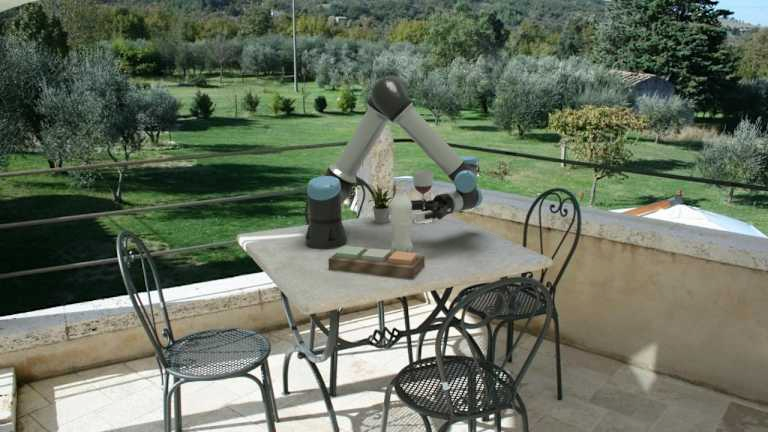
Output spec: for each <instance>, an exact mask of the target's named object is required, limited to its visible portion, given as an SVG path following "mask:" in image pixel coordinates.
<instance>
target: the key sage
mask: <svg viewBox="0 0 768 432" xmlns="http://www.w3.org/2000/svg"><path fill="white" fill-rule="evenodd" d="M365 250H366V248H365V247H361V246H350V245H343V247H342V248H339V250H337V251H336V252H335V254H336V257H338V258H347V259H356V260H357V259H358V258H360V257H361V256H362V255H363V254H364V253H365Z"/></svg>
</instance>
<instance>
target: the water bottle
mask: <svg viewBox="0 0 768 432" xmlns="http://www.w3.org/2000/svg"><path fill="white" fill-rule="evenodd" d="M395 191H396V192H395V194H394V196H393V197H392V200H391V202H390V206H391V214H390V216H391V220H390V223H391V226H392V229H393V240H392V242H391V246H390V247H391V252H392V253H395V252H396V251H401V252H411V253H412V250H413V243H412V240H411V234H410V232H411V230H410V229H411V227H412V224H413V218H412V216H413V214H412V213H413V210H412V203H411V201H412V200H411V199H410V197H409V195H408V193H407V183H406V180H397V181H396V186H395Z"/></svg>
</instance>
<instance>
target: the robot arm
mask: <svg viewBox="0 0 768 432" xmlns="http://www.w3.org/2000/svg"><path fill="white" fill-rule="evenodd" d="M409 93H410V91H409V87H408V84H407V83H406V82H405V80H404V79H402V78H401V77H398V76H396V75H388V76H384V77H383V78H380V79H379V80H377V81H376V82H375V83H374V85H373V86H372V88H371V94H370V96H369V98H368V100H367V101H366V106H367V110H366V112H365V113H364V115H363V117H362V118H361V120H360V121H359V123H358V125H357V127H356V129H355V130H354V132H353V133H352V135H351V137H350V138H349V140H348V142H347V144H346V145H345V147H344V148H343V150H342V152H341V154H340V156H339V157H338V158H337V161H336V162H335V163H334V164H330V165H329V166H328V168H327V169H326V171H325V172H324V174H323V175H322V176H317V177H313V178H311V179H310V180H309V181H308V183H307V188H306V193H307V205H308V221H309V222H308V223H309V224H308V226H307V230H306V234H305V238H304V240H305V245H306V246H307V247H308V248H312V249H321V250H322V249H323V250H326V249H327V250H328V249H335V248H336V249H337V248H340V247H342V246H343V247H344V246H346V244H347V243H348V235H347V234H348V233H347V232H346V230H345V227H344V224H343V220H342V217H343V216H342V204H343V203H344V202H345V201H346V200H347V199H348V198H349V196H350V195H351V192H352V189H353V188H354V186H355V185H356V183H357V177H356V175H357V173H358V172H359V170H360V168H361V167H362V165H363V164H364V162H365V160H366V158H367V157H368V155H369V154H370V152H371V150H372V149H373V147H374V146H375V144H376V142H377V141H378V139H379V138H380V136H381V134H382V133H383V131H384V130H385V128H386V126H387V124H388V123H389V122H390V123H392V124H397V125H398V126H399V127H400V128H401V129H402V130H403V131H404V132H405V133H406V134H407V135H408V136H409V137H410V139H411V140H412V141H413V142H414V143H415V144H416V145H417V146H418V147H419V148H420V149H421V151H423V152H424V153H425V154H426V155H427V157H429V159H431V161H433V162H434V163H435V165H436V166H437V167H438V168H439V169H440V170H441V172H443V173H444V174H445V175H446V176H447V177H448V178H449V180H450V181H452V183H453V185H454V187H455V190H454V191H448V192H445V193H441V194H437V195H436V196H434V198H433V199H430V200H427V199H426V198H424V199H423V200H422V199H416V200H410V201H411V203H412V211H421V212H417V213H416V214H415V220H416V222H421V221H425V220H428V219H431V220H432V219H433V220H435V219H437V220H442V219H443V218H445V217H446V216H447V215H450V214H452V215H454V214H455V213H457V212H462V211H466V210H472V209H474V208H477V207H478V206H480V205H481V204H482V202H483V194H482V191H481V190H480V188H478V187H477V183H478V159H477V157H475V156H473V155H461V156H459V155H458V153H456V151H455V150H454V149H453V148H452V147H451V146H450V145H449V144H448V143H447V142H446V141H445V140H444V139H443V138H442V137H441V136H440V134H439V133H438V132H437V131H436V130H435V129H434V128H433V127H432V126H431V124H430V123H428V121H426V120H425V118H423V117H422V116H421V114H420V113H419V112H418V111H417V110H416V109H415V108H414V103H413V101H412V100H411V99H410V98H409V95H410V94H409ZM423 207H424V209H423ZM422 211H424V212H422ZM389 215H391V205H389ZM416 222H415V223H416Z"/></svg>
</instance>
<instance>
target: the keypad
mask: <svg viewBox="0 0 768 432" xmlns="http://www.w3.org/2000/svg"><path fill="white" fill-rule="evenodd" d="M368 250H369V249H365V252H366V251H368ZM392 254H394V253H393V251H391V255H392ZM425 258H426V257H425V255H421V254H420V255H419V254H418V259H417V260H416V261H415V262H414V263H413V264H412V265H403V264H393V263H389V258H388V259H387V260H386V261H385V262H375V261H366V260H362V256H361V257H360V258H358V259H357V260H356V259H347V258H338V257H336V253H334V254H333V255H331V256H330V257H329V258H328V259H327V261H328V270H331V271H332V270H333V271H334V270H335V271H341V272H347V273H348V272H350V273H358V274H368V275H376V276H384V277H391V278H393V277H394V278H401V279H410V280H414V279H415V277H416V276H417V275H418V274H419V273H420V272H421V270H423V268H424V267H425V266H426V265H425V264H426V263H425Z"/></svg>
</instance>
